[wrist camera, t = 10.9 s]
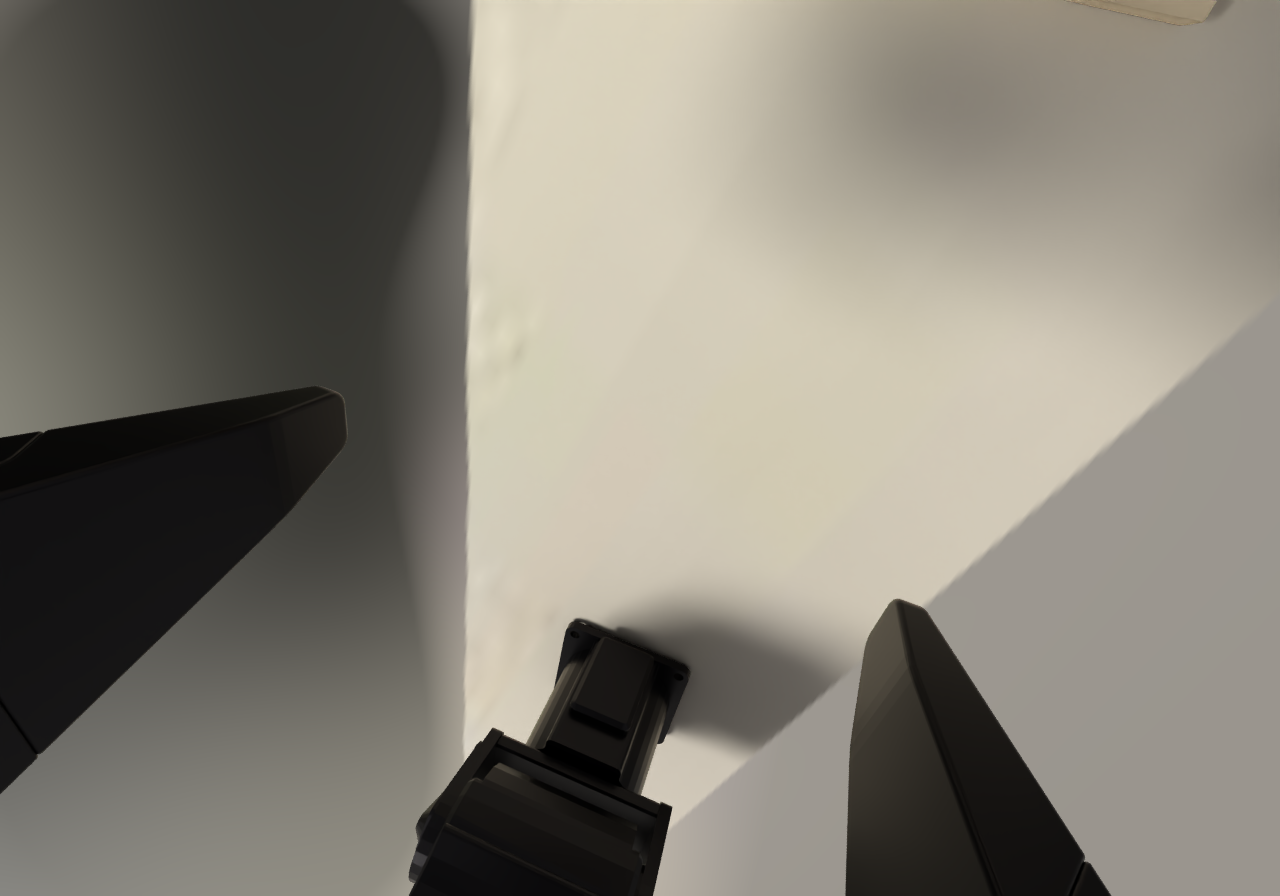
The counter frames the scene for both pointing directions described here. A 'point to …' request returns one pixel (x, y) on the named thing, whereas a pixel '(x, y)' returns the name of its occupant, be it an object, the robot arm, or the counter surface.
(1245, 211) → the counter surface
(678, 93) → the counter surface
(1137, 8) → the wooden stand with ring
